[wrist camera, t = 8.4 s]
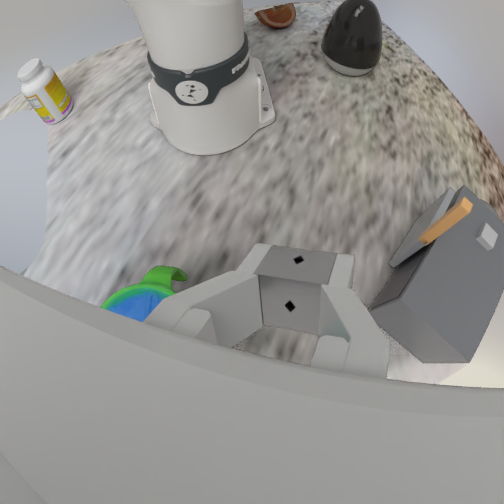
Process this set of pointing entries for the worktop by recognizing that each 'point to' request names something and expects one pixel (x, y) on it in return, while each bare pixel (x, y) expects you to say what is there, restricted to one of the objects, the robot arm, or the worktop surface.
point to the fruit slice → (277, 15)
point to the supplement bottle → (44, 91)
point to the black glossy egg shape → (353, 38)
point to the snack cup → (145, 293)
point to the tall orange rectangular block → (432, 225)
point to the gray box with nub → (447, 288)
